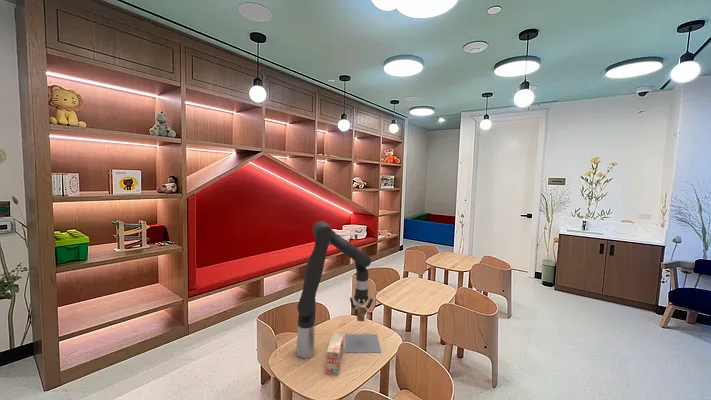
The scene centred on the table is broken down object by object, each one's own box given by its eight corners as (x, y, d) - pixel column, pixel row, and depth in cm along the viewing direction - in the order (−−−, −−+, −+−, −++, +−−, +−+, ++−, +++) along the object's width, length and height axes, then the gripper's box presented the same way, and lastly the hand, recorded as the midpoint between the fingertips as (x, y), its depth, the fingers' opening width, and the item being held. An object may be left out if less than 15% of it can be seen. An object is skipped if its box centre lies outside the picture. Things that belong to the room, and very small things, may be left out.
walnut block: (357, 321, 168) (358, 304, 167) (356, 315, 175) (357, 299, 174) (364, 321, 168) (365, 304, 167) (363, 315, 175) (363, 299, 174)
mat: (346, 353, 164) (346, 352, 164) (345, 334, 182) (345, 334, 182) (381, 352, 165) (381, 352, 165) (376, 334, 183) (376, 334, 183)
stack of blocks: (332, 348, 168) (333, 328, 167) (343, 349, 167) (344, 329, 166) (326, 374, 147) (326, 351, 145) (338, 375, 146) (339, 352, 145)
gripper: (350, 289, 165) (348, 317, 167) (374, 289, 166) (373, 317, 168) (349, 284, 173) (348, 311, 174) (372, 284, 174) (371, 311, 176)
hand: (360, 314), depth 171 cm, fingers closed on walnut block, 4 cm apart
